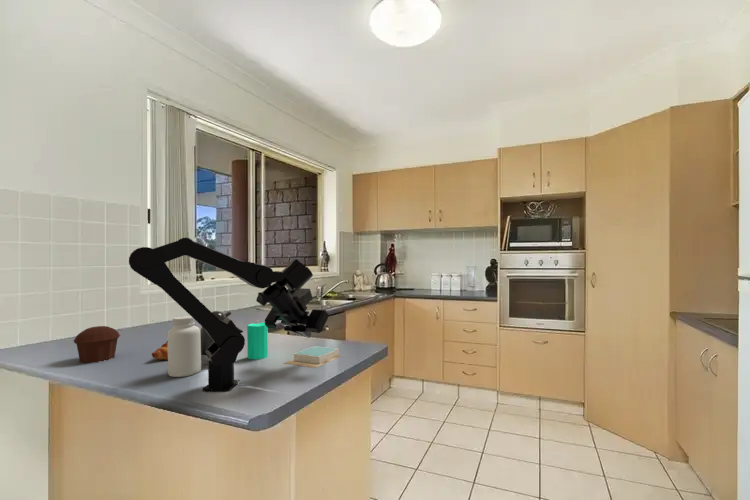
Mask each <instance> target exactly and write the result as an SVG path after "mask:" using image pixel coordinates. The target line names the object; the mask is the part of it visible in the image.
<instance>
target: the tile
mask: <svg viewBox="0 0 750 500" xmlns="http://www.w3.org/2000/svg"><path fill="white" fill-rule="evenodd" d="M293 355H294V356H293V359H294V361H301V362H309V363H316V364H321V363H323V362H325V361H328V360H330V359H332V358H334V357H337V356H339V355H340V349H339V348H334V347H326V346H325V347H324V346H318V345H317V346H316V345H314V346H311V347H308V348H305V349H303V350H301V351H297V352H295V353H293Z"/></svg>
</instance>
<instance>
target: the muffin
mask: <svg viewBox="0 0 750 500" xmlns="http://www.w3.org/2000/svg"><path fill="white" fill-rule="evenodd" d="M120 336H121V334H120V333H119V331H118V330H117V329H115V328H112V327H110V326H106V325H97V326H91V327H87V328H86V329H84V330H82V331H81V332H79V333H78V334H77V335H76V336H75V337H74V340H73V343H74V344H75V345H76V347H77V352H78V359H79V363H80V362H84V363H83V364H91V363H90V362H95V363H100V362H99V361H102V362H105V361H104V360H106V361H109V359H110V360H112V359H115V355H116V350H117V344H118V339H119V338H120ZM111 358H112V359H111Z"/></svg>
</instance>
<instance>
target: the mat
mask: <svg viewBox="0 0 750 500" xmlns="http://www.w3.org/2000/svg"><path fill="white" fill-rule="evenodd" d="M340 357H341V358H342V357H343V355H341V354H339V356H337V357H334V358H332V359H330V360H328V361H325V362H323V363H321V364H316V363H309V362H301V361H294V358H293V359H291V360H288V361H285V362H283V364H285V365H291V366H298V367H304V368H305V367H306V368H313V369H315V368H318V367H320V366H323V365H326V364H327V363H329V362H331V361H334V360H336V359H338V358H340Z"/></svg>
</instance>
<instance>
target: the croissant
mask: <svg viewBox="0 0 750 500" xmlns="http://www.w3.org/2000/svg"><path fill="white" fill-rule="evenodd" d="M151 356H152V358H153V359H157V360H165V361H166V360H167V361H168V339H167V340H166V342H165V343H163V344H162V345H161V347H159V348H157V349H156V350H154V351H153V352H151Z"/></svg>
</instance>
